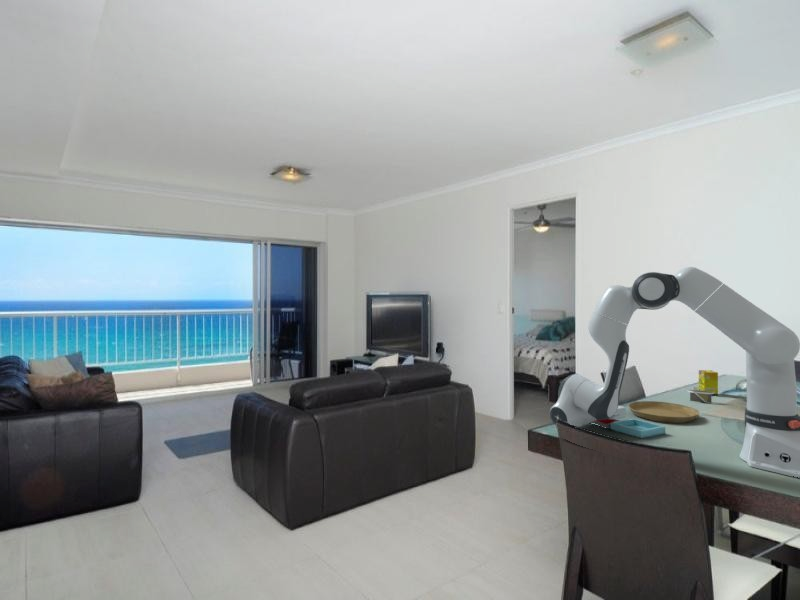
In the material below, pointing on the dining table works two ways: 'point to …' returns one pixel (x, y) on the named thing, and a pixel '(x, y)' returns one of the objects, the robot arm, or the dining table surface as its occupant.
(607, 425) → the socket
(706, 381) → the supplement box
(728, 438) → the dining table surface
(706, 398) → the platform
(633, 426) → the tray
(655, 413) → the plant saucer
